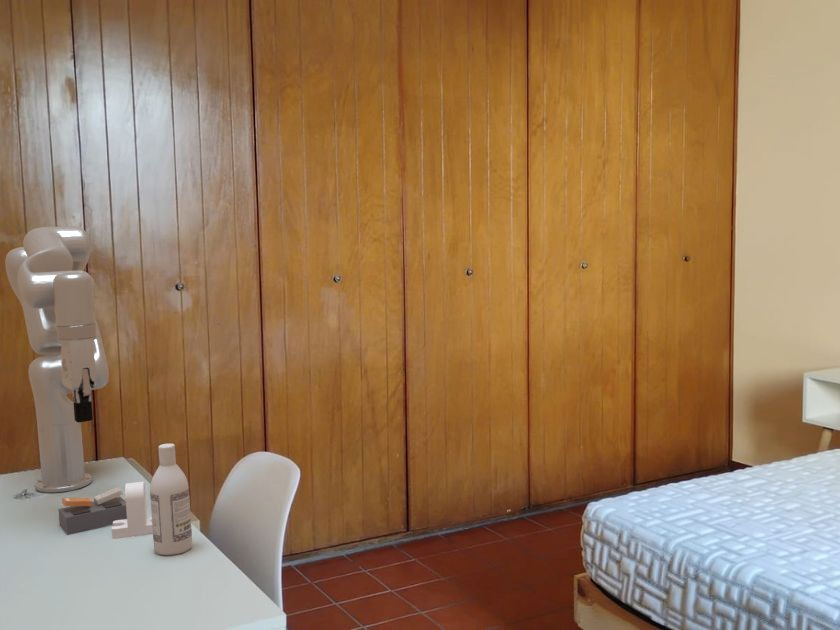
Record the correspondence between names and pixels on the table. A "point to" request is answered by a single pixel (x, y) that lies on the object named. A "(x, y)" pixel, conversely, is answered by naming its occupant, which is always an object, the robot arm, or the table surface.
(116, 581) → the table surface
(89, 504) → the rocker orange
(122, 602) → the table surface
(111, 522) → the rocker switch box
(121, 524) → the cable organizer
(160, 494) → the bath foam
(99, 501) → the rocker grey
